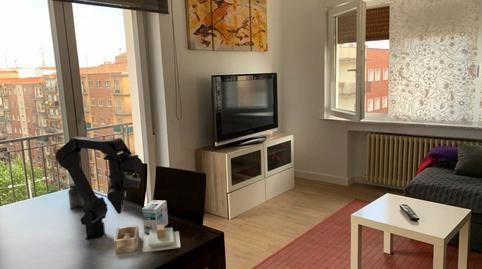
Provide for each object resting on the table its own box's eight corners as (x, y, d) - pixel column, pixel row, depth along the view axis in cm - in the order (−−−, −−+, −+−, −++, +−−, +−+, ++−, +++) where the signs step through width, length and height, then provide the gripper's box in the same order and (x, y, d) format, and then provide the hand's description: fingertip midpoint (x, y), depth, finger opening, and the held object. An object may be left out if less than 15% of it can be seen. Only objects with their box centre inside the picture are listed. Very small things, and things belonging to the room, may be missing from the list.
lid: (149, 250, 137) (147, 235, 136) (150, 235, 150) (148, 222, 149) (174, 246, 139) (173, 232, 138) (172, 232, 152) (171, 219, 151)
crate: (115, 253, 136) (113, 241, 136) (118, 239, 148) (117, 227, 147) (137, 250, 138) (136, 238, 137) (139, 236, 150) (138, 225, 149)
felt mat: (142, 252, 137) (142, 251, 136) (144, 236, 150) (144, 235, 150) (180, 247, 139) (180, 246, 139) (178, 232, 153) (178, 231, 153)
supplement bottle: (77, 203, 192) (74, 181, 190) (87, 204, 189) (85, 182, 187) (67, 208, 185) (64, 185, 183) (77, 209, 183) (75, 186, 181)
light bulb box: (158, 233, 152) (156, 209, 150) (143, 233, 153) (141, 208, 151) (168, 223, 162) (167, 200, 160) (154, 222, 164) (152, 199, 162)
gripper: (137, 175, 135) (140, 215, 138) (139, 163, 153) (142, 199, 156) (105, 178, 133) (109, 219, 136) (111, 165, 151) (115, 202, 154)
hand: (120, 209), depth 145 cm, fingers open, 9 cm apart
